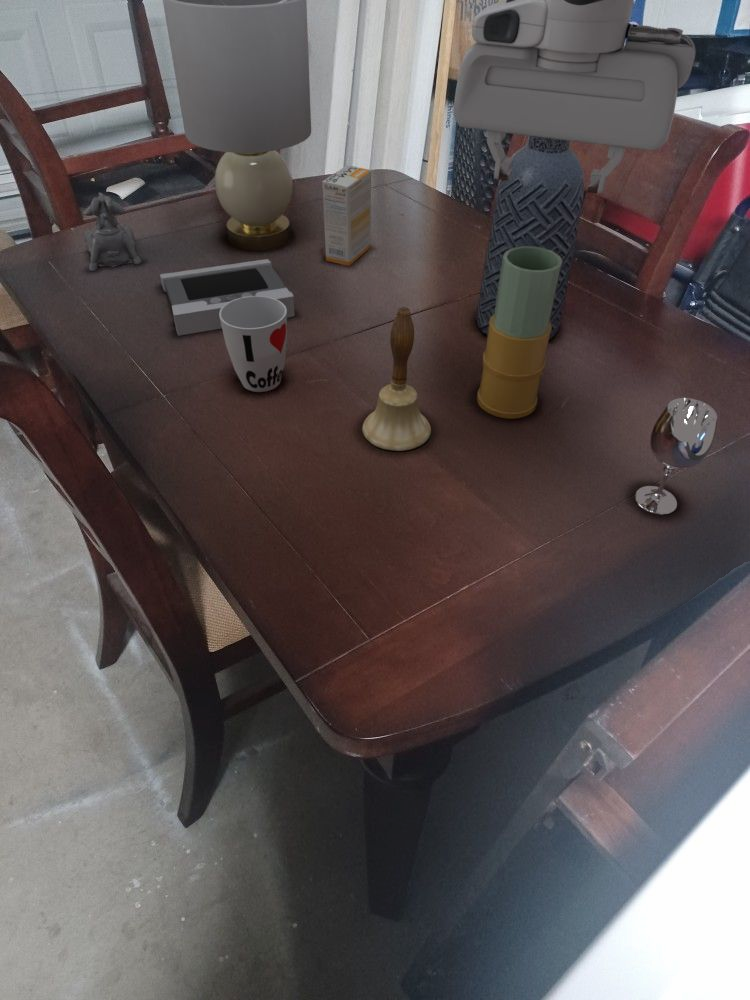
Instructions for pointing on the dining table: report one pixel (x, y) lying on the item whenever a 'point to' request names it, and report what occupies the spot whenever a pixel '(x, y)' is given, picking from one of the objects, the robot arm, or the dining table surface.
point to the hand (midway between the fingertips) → (548, 184)
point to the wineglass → (677, 447)
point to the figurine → (109, 235)
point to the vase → (535, 217)
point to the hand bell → (398, 398)
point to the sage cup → (526, 291)
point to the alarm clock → (219, 292)
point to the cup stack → (511, 373)
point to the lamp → (245, 103)
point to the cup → (256, 340)
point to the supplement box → (347, 214)
